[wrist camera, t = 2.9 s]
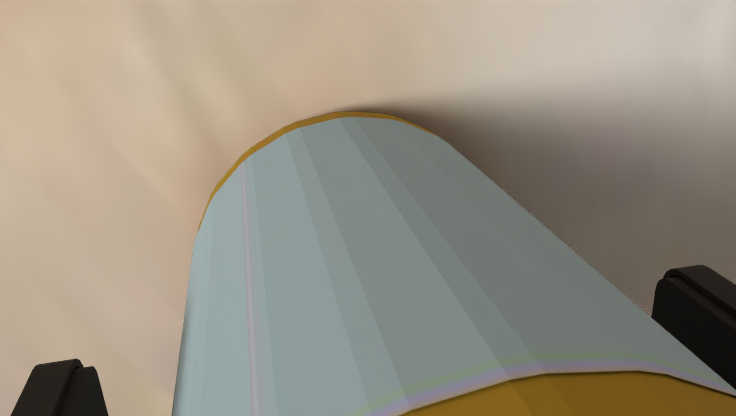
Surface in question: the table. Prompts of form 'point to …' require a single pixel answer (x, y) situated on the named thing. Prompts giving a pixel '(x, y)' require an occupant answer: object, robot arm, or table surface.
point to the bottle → (407, 294)
